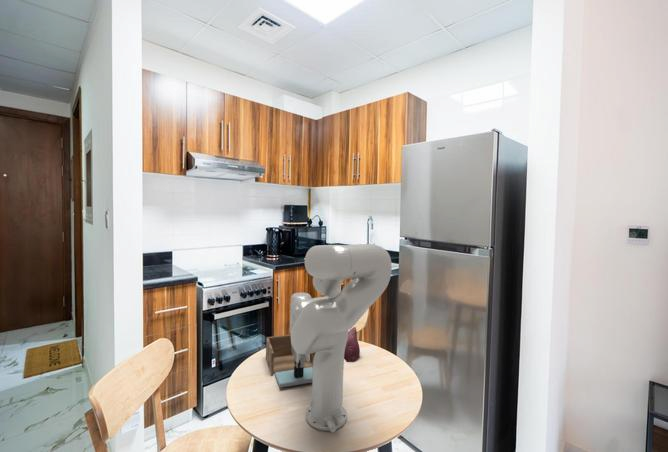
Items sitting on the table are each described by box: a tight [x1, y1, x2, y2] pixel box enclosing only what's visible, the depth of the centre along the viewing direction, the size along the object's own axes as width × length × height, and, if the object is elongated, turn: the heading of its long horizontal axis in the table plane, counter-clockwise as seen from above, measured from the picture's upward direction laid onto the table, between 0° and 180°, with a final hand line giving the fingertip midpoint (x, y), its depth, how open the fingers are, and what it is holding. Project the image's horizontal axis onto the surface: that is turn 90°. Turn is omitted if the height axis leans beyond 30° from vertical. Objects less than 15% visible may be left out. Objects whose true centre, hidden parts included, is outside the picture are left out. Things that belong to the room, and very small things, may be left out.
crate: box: [265, 334, 316, 377], centre depth 125 cm, size 15×18×10 cm
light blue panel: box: [274, 367, 313, 388], centre depth 113 cm, size 1×15×11 cm
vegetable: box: [344, 326, 361, 363], centre depth 135 cm, size 10×10×15 cm
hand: (298, 376), depth 111 cm, fingers closed
